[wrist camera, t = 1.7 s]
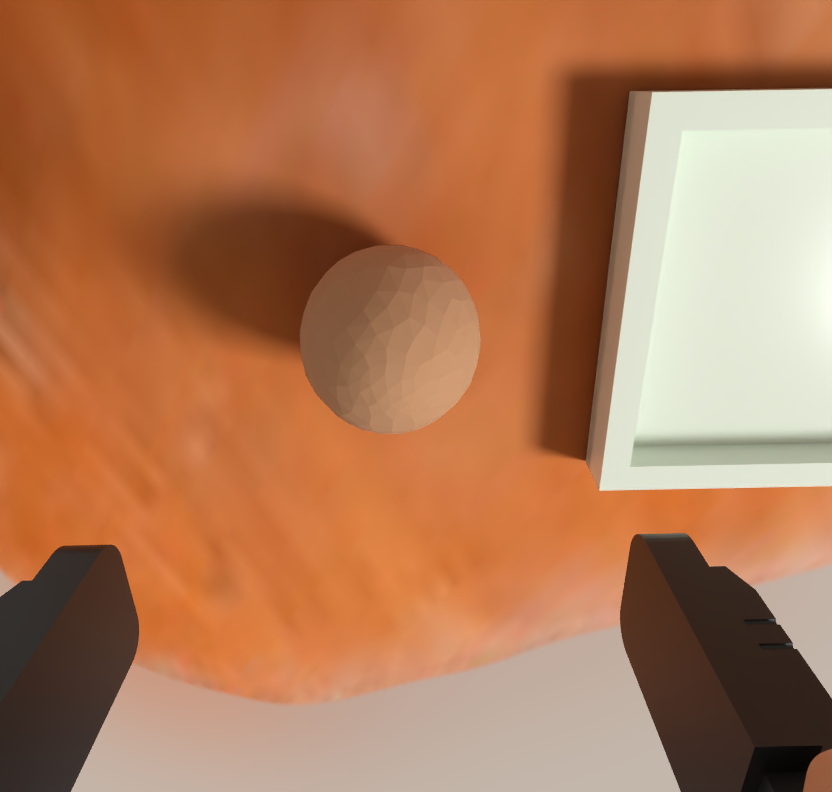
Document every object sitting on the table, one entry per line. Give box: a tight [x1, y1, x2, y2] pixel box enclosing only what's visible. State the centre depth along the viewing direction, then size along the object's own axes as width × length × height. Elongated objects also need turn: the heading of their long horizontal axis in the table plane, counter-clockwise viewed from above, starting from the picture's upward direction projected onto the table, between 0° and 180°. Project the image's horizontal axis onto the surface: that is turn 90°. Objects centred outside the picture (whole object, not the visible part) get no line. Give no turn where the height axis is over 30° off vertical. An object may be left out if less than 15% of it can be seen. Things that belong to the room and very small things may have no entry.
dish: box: [586, 88, 832, 491], centre depth 22 cm, size 13×13×2 cm
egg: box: [300, 245, 481, 434], centre depth 19 cm, size 5×5×7 cm
